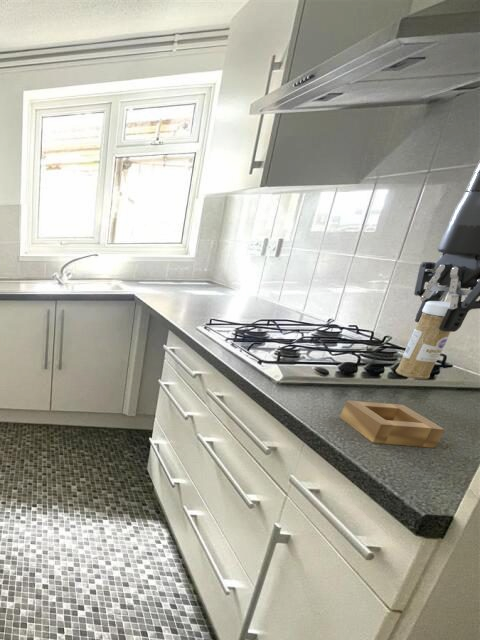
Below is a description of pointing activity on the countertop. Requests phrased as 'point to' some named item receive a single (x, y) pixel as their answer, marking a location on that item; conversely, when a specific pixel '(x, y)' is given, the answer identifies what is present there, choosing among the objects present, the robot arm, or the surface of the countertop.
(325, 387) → the countertop surface
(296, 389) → the countertop surface
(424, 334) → the sprinkles bottle
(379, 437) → the holder
